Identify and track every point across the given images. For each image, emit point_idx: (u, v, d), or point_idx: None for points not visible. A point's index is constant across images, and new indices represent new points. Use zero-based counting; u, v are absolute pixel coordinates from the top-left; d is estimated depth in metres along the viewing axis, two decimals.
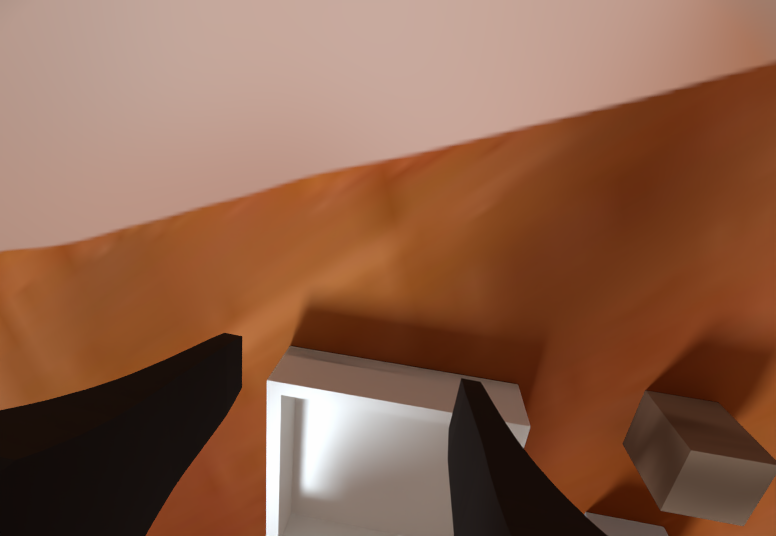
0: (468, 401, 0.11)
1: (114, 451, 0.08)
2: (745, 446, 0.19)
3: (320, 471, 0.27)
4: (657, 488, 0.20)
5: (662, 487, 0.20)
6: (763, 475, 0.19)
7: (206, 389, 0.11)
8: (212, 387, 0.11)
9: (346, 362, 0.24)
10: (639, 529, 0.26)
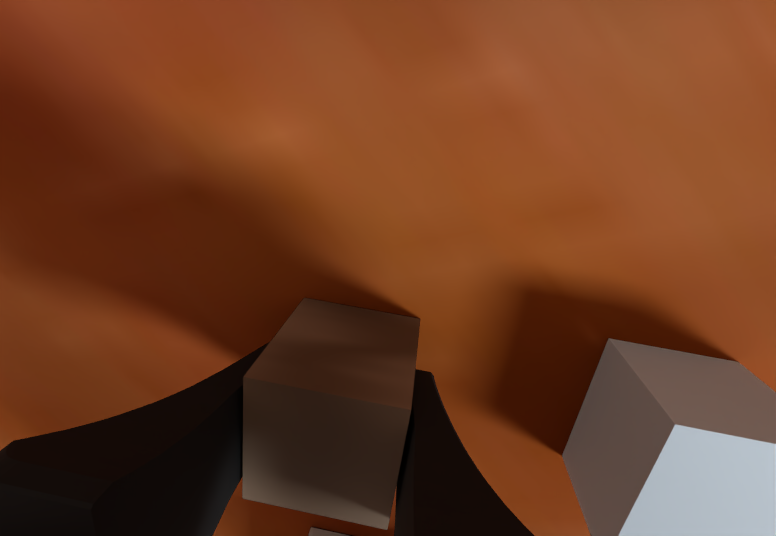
0: None
1: (186, 466, 0.08)
2: None
3: None
4: None
5: None
6: (271, 398, 0.09)
7: None
8: None
9: None
10: (596, 394, 0.13)
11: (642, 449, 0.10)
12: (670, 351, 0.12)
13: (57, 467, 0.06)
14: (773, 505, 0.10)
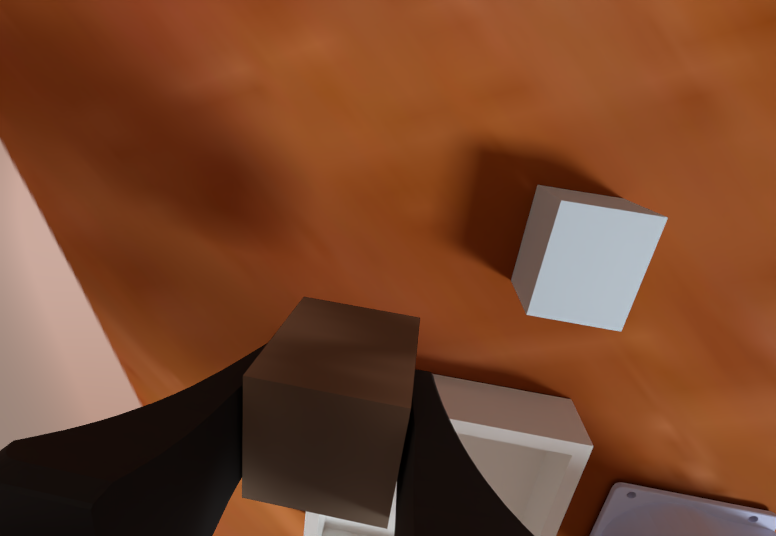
0: None
1: (186, 466, 0.08)
2: None
3: None
4: None
5: None
6: (271, 397, 0.09)
7: None
8: None
9: None
10: (529, 223, 0.19)
11: (547, 229, 0.16)
12: (577, 191, 0.19)
13: (57, 467, 0.06)
14: (623, 255, 0.16)
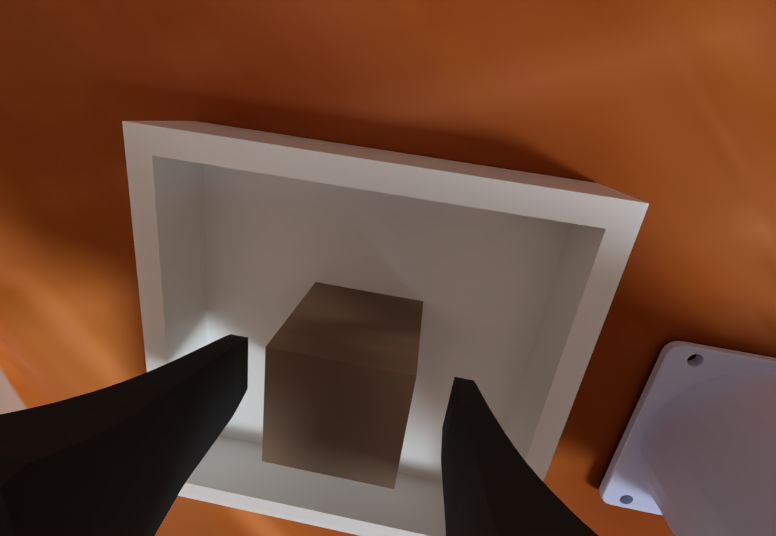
0: (460, 400, 0.11)
1: (123, 453, 0.08)
2: None
3: None
4: None
5: None
6: (290, 367, 0.11)
7: (213, 391, 0.11)
8: (219, 389, 0.11)
9: None
10: None
11: None
12: None
13: None
14: None
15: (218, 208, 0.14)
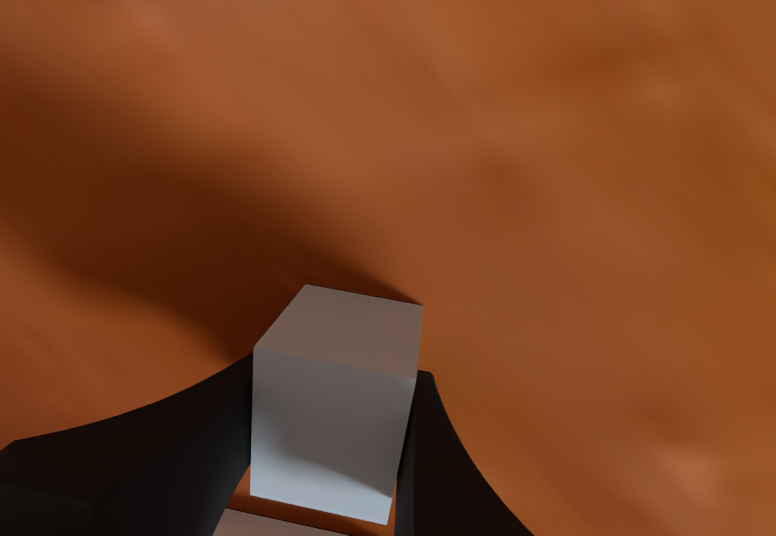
0: None
1: (187, 466, 0.08)
2: None
3: None
4: None
5: None
6: None
7: None
8: None
9: None
10: None
11: None
12: (357, 297, 0.13)
13: (58, 467, 0.06)
14: (364, 427, 0.10)
15: None
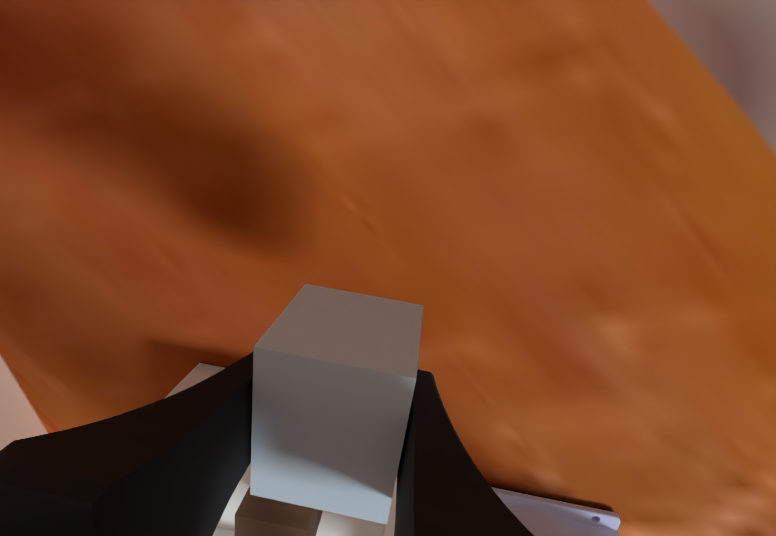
0: None
1: (187, 466, 0.08)
2: None
3: None
4: None
5: None
6: (247, 523, 0.21)
7: None
8: None
9: None
10: None
11: None
12: (357, 297, 0.13)
13: (57, 468, 0.06)
14: (364, 426, 0.10)
15: None
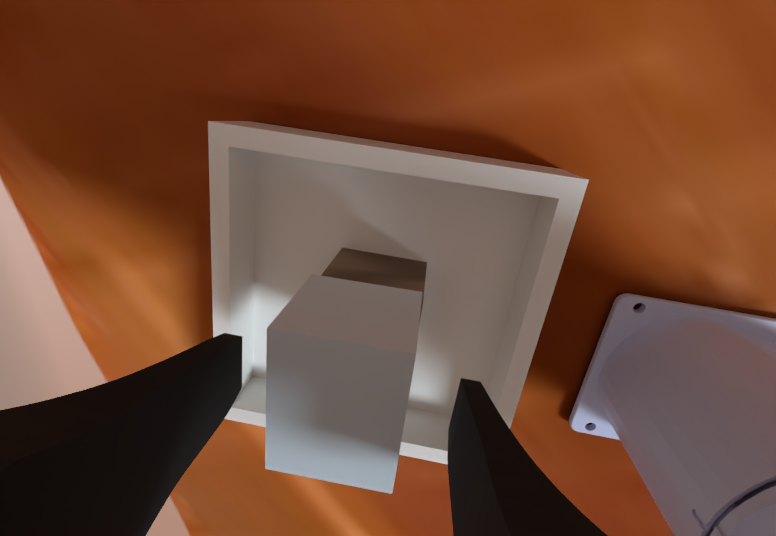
0: (468, 401, 0.11)
1: (114, 451, 0.08)
2: None
3: None
4: None
5: None
6: None
7: (206, 389, 0.11)
8: (212, 387, 0.11)
9: None
10: None
11: None
12: (360, 285, 0.14)
13: None
14: (369, 400, 0.11)
15: (267, 189, 0.18)
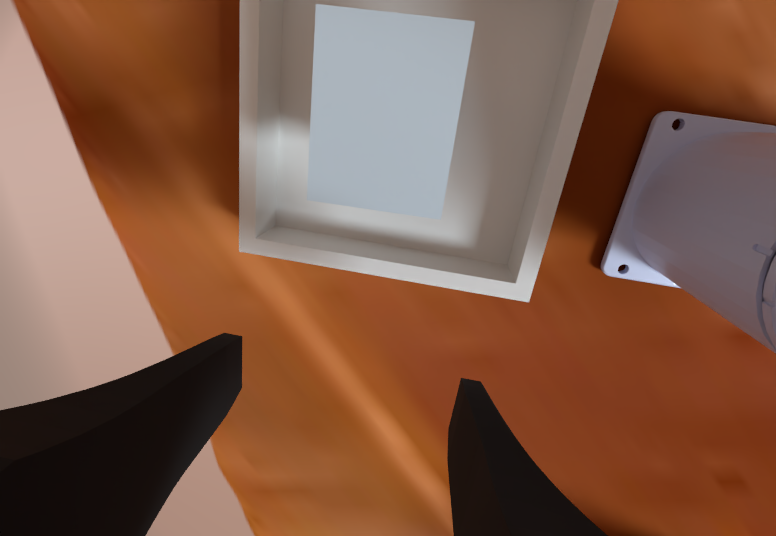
0: (468, 401, 0.11)
1: (114, 451, 0.08)
2: None
3: None
4: None
5: None
6: None
7: (205, 389, 0.11)
8: (212, 387, 0.11)
9: None
10: None
11: None
12: None
13: None
14: (422, 93, 0.10)
15: None
